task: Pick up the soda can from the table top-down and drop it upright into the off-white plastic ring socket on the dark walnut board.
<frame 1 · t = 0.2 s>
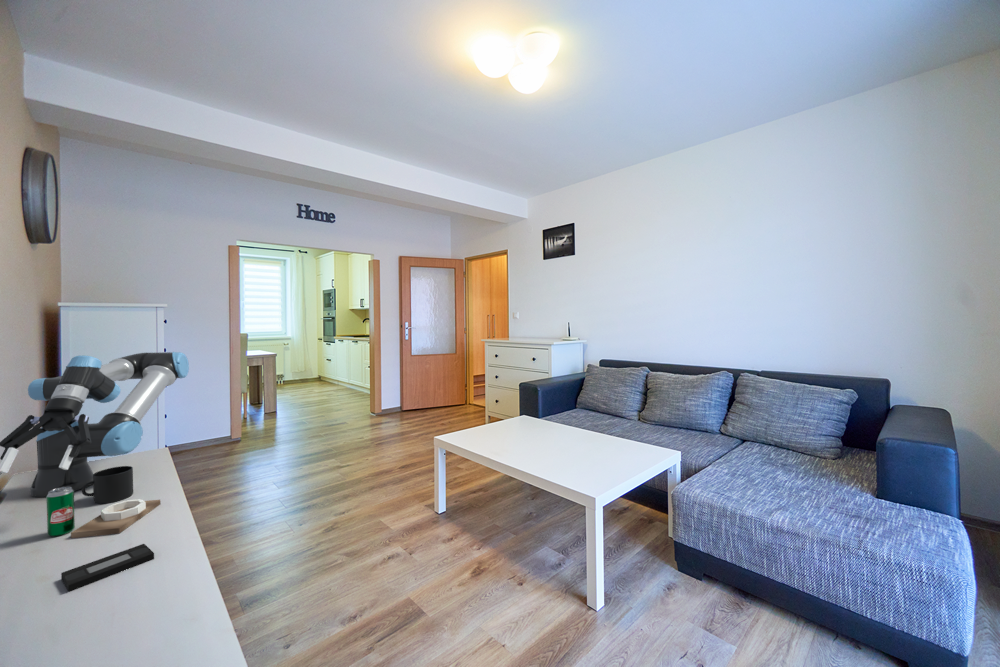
hand: (33, 470, 113), 16 cm above the tv stand, tool tilted 35°, fingers open, 13 cm apart
vhs tape: (109, 571, 92), on the tv stand
socket ring: (124, 512, 117), resting on walnut board
soda can: (61, 533, 109), on the tv stand
walnut board: (119, 519, 116), on the tv stand
mug: (108, 499, 129), on the tv stand
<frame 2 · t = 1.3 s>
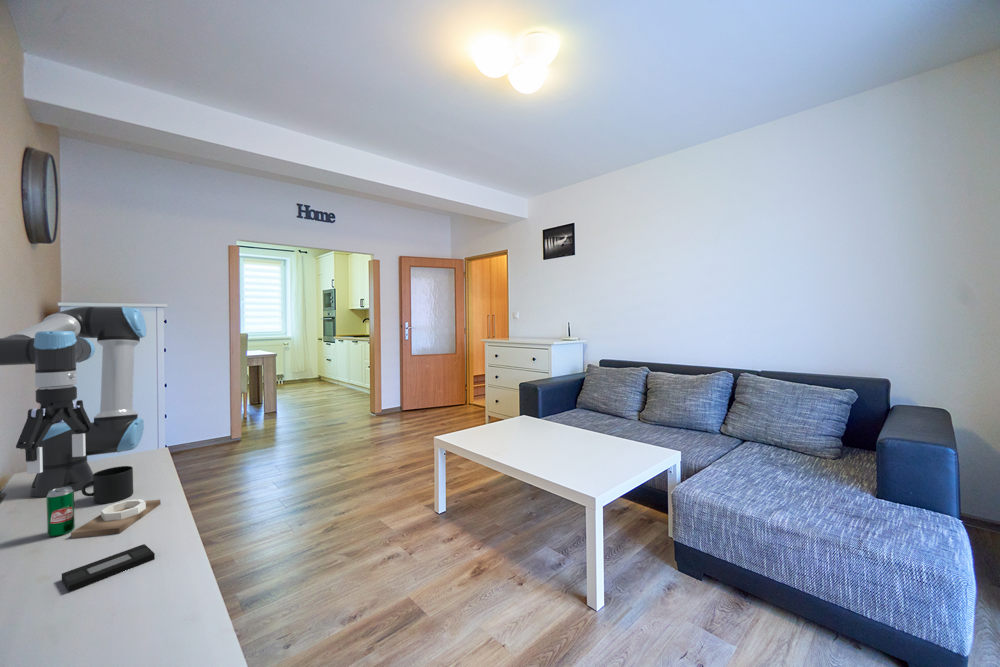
hand: (58, 464, 108), 19 cm above the tv stand, tool pointing down, fingers open, 13 cm apart
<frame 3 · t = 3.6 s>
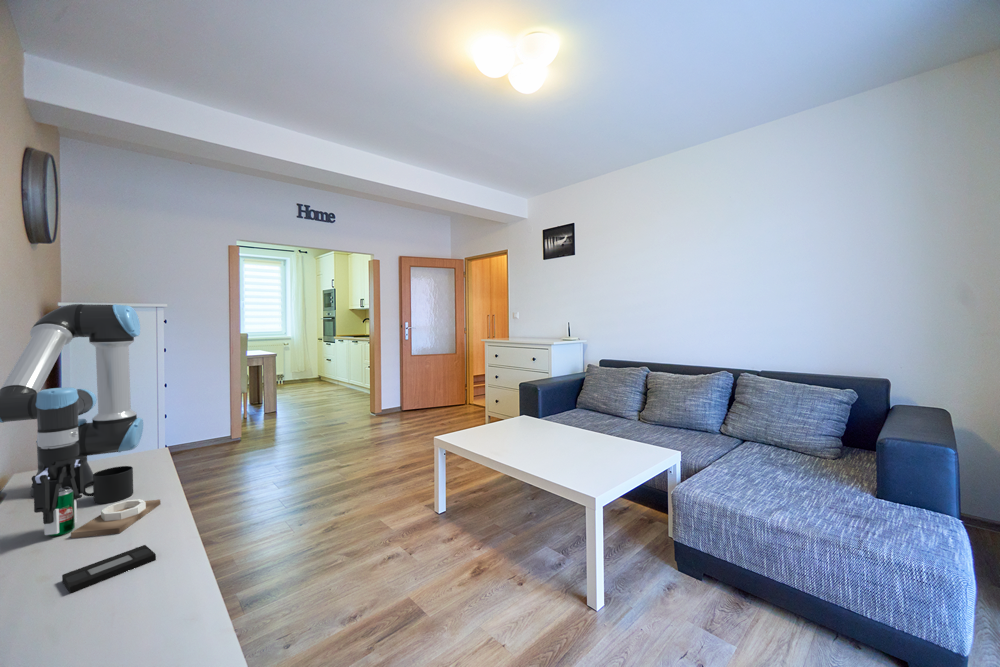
hand: (61, 528, 108), 1 cm above the tv stand, tool pointing down, fingers closed on soda can, 5 cm apart
soda can: (61, 533, 109), on the tv stand, touching gripper
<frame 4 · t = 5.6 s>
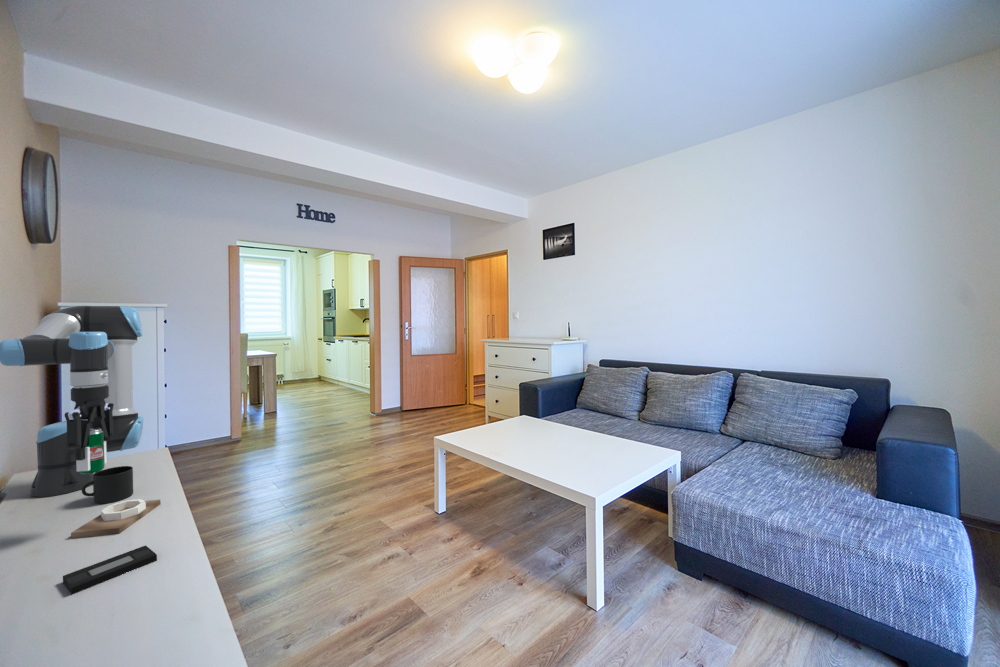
hand: (92, 466, 112), 17 cm above the tv stand, tool pointing down, fingers closed on soda can, 5 cm apart
soda can: (92, 472, 112), point 15 cm above the tv stand, touching gripper
when the fingers open (5 cm above the tv stand, at t = 7.6 s): soda can drops 2 cm, resting on walnut board.
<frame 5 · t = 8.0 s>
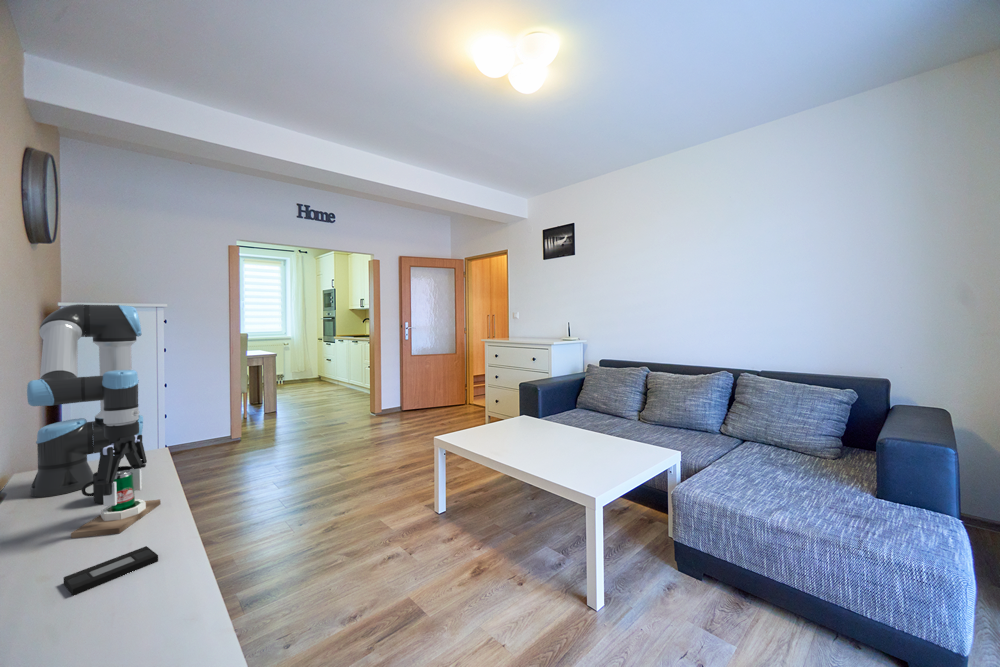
hand: (123, 497, 117), 6 cm above the tv stand, tool pointing down, fingers open, 10 cm apart
soda can: (124, 512, 117), point 1 cm above the tv stand, touching walnut board
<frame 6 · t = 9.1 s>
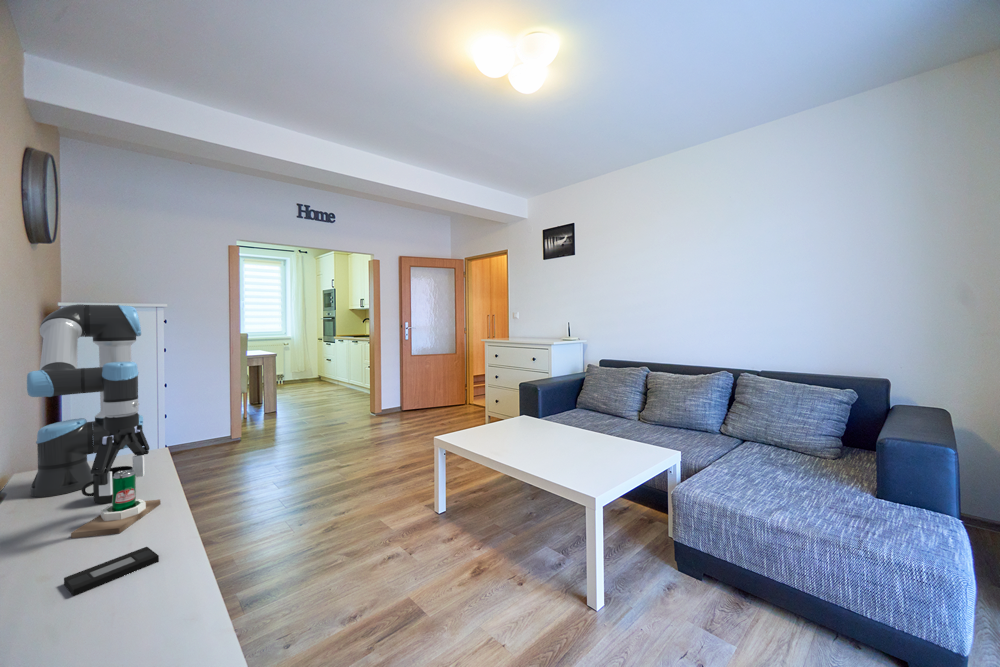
hand: (123, 485, 117), 10 cm above the tv stand, tool pointing down, fingers open, 13 cm apart
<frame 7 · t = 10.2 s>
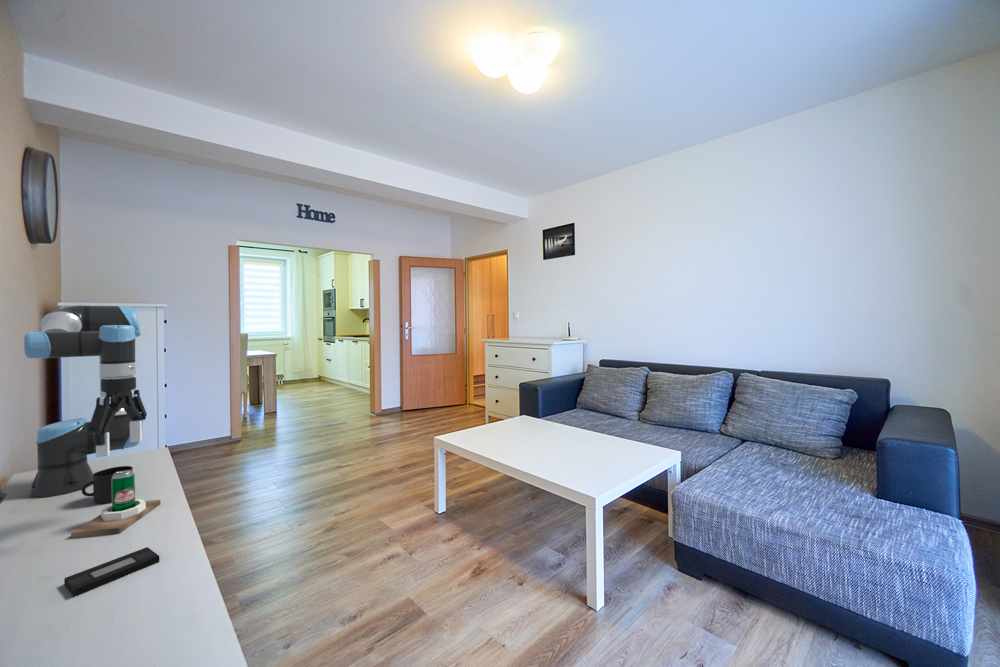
hand: (120, 448, 117), 21 cm above the tv stand, tool pointing down, fingers open, 13 cm apart
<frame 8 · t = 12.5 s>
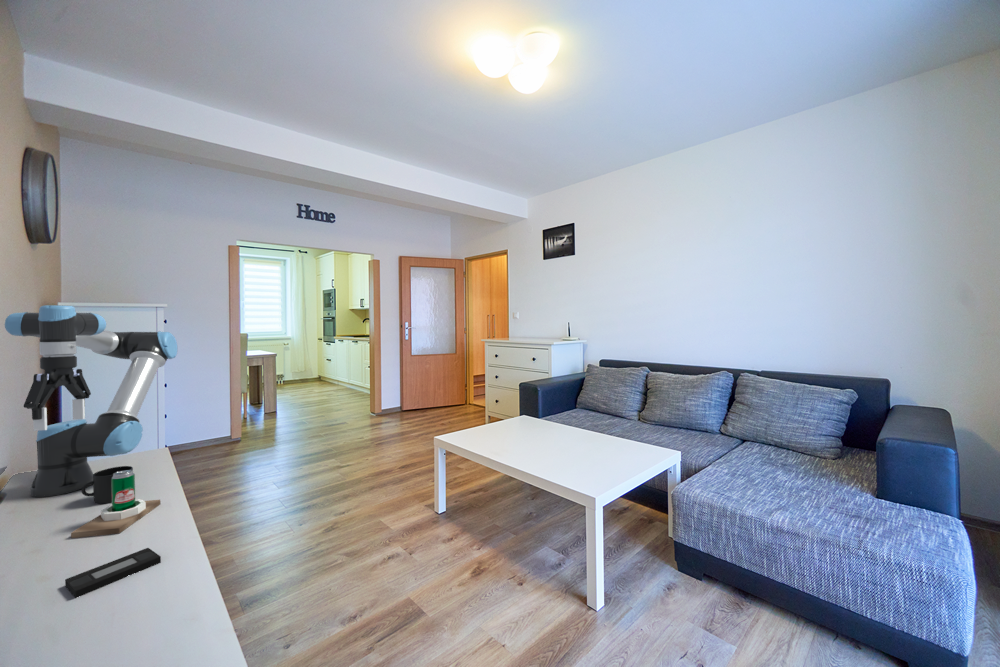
hand: (60, 424, 121), 27 cm above the tv stand, tool pointing down, fingers open, 13 cm apart
at the end: soda can 0.2 cm from the socket ring (horizontally); soda can tilted 0°; soda can touching walnut board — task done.
